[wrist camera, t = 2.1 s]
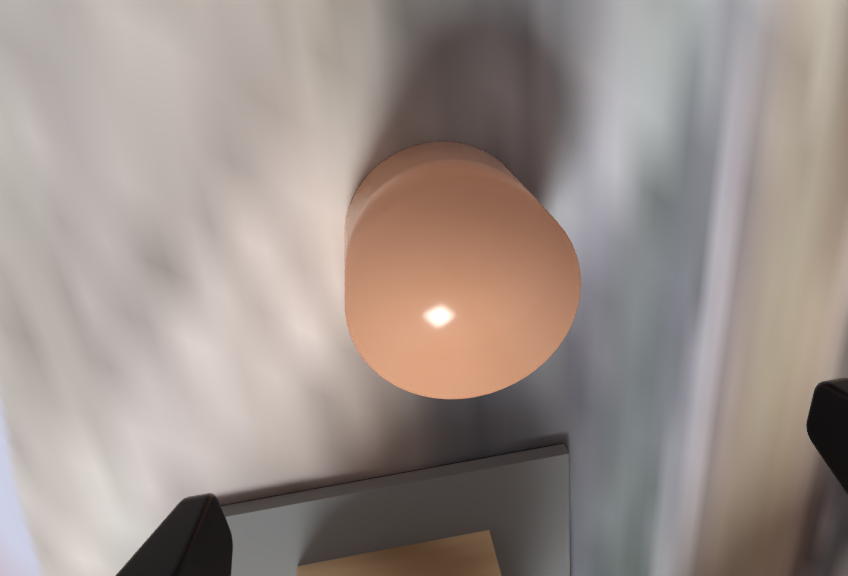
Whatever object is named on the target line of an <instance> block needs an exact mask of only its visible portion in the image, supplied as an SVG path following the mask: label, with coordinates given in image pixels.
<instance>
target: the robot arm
mask: <svg viewBox="0 0 848 576" xmlns="http://www.w3.org/2000/svg"><path fill="white" fill-rule="evenodd" d="M806 425H807V432H808V435H809V437H810V440H811V441H812V443H813V444H814V446H815V447H816V449H817V450H818V452H819V453H820V455H821V456H822V458H823V459H824V461H825V462H826V464H827V465H828V467H829V468H830V470H831V471H832V473H833V474H834V476H835V477H836V479H837V480H838V481H839V483H840V484H841V486H842V487H843V489H844V490H845V492H846V493H847V495H848V378H840V379H834V380H829V381H824V382H821V383H819V384H818V385H817V386H816V388H815V390H814V394H813V398H812V402H811V406H810V410H809V415H808V419H807V424H806ZM232 554H233V540H232V534H231V530H230V528H229V525H228V523H227V520H226V518H225V516H224V513H223V511H222V508H221V506H220V503H219V501H218V499H217V497H216V496H215V495H214V494H211V493H207V494H202V495H196V496H191V497H187V498H184V499H183V500H182V501H181V502H180V503H179V504H178V505H177V506H176V507H175V508H174V509H173V511H172V512H171V513H170V514H169V515H168V516H167V517H166V519H165V520H164V521H163V522H162V523H161V524H160V526H159V527H158V528H157V529H156V530H155V531H154V532H153V534H152V535H151V536H150V537H149V538H148V539H147V540H146V542H145V543H144V544H143V545H142V546H141V547H140V548H139V550H138V551H137V552H136V553H135V554H134V555H133V556H132V558H131V559H130V560H129V561H128V562H127V563H126V564H125V566H124V567H123V568H122V569H121V570H120V571H119V572H118V574H117V575H116V576H231V569H232Z"/></svg>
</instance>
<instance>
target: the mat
mask: <svg viewBox="0 0 848 576" xmlns="http://www.w3.org/2000/svg"><path fill="white" fill-rule="evenodd" d="M221 508H222V511H223V513H224V516H225V518H226V520H227V523H228V525H229V528H230V530H231V534H232V540H233V554H232V569H231V576H296V574H297V566H301V565H306V564H312V563H317V562H322V561H328V560H333V559H338V558H343V557H349V556H354V555H359V554H365V553H370V552H375V551H380V550H386V549H391V548H396V547H402V546H407V545H412V544H417V543H423V542H428V541H433V540H439V539H444V538H449V537H454V536H460V535H465V534H470V533H476V532H481V531H486V530H489V531H490V535H491V538H492V542H493V546H494V550H495V553H496V557H497V561H498V565H499V568H500V572H501V576H570V515H569V453H568V450H567V448H566V446H565V444H560V445H554V446H549V447H543V448H538V449H532V450H527V451H521V452H516V453H510V454H505V455H499V456H494V457H488V458H483V459H477V460H472V461H467V462H461V463H456V464H450V465H445V466H439V467H434V468H428V469H423V470H417V471H412V472H406V473H401V474H395V475H390V476H384V477H379V478H373V479H368V480H362V481H357V482H352V483H346V484H341V485H335V486H330V487H324V488H319V489H313V490H308V491H302V492H297V493H291V494H286V495H280V496H275V497H269V498H264V499H258V500H253V501H247V502H242V503H237V504H231V505H226V506H221Z"/></svg>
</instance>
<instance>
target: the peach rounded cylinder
mask: <svg viewBox="0 0 848 576" xmlns="http://www.w3.org/2000/svg"><path fill="white" fill-rule="evenodd" d="M580 290H581V276H580V267H579V263H578V258H577V255H576V253H575V250H574V247H573V245H572V243H571V241H570V239H569V238H568V236H567V234H566V232H565V231H564V230H563V229H562V227H561V226H560V225H559V224H558V222H557V221H556V220H555V219H554V218H553V217H552V216H551V215H550V213H549V212H548V211H547V210H546V209H545V208H544V207H543V206H542V205H541V204H540V203H539V202H538V201H537V199H536V198H535V197H534V196H533V195H532V194H531V193H530V192H529V191H528V190H527V189H526V188H525V186H524V185H523V184H522V183H521V182H520V181H519V180H518V179H517V178H516V177H515V176H514V175H513V173H512V172H511V171H510V170H509V169H508V168H507V167H506V166H505V165H504V164H502V163H501V162H500V161H499V160H498V159H496V158H495V157H493V156H492V155H490V154H489V153H487V152H485V151H483V150H481V149H479V148H476V147H473V146H470V145H467V144H462V143H456V142H444V141H439V142H428V143H423V144H419V145H414V146H412V147H409V148H406V149H403V150H401V151H399V152H397V153H395V154H393V155H391V156H390V157H388V158H387V159H385V160H384V161H383V162H381V163H380V164H379V165H378V166H376V167H375V168H374V169H373V170H372V171H371V172H370V173H369V174H368V175H367V177H366V178H365V179H364V180H363V181H362V183H361V184H360V186H359V187H358V189H357V191H356V192H355V194H354V196H353V199H352V201H351V203H350V206H349V209H348V213H347V216H346V223H345V314H346V321H347V326H348V329H349V332H350V336H351V338H352V340H353V342H354V344H355V346H356V349H357V350H358V352H359V353H360V355H361V356H362V358H363V359H364V360H365V361H366V362H367V364H368V365H369V366H370V367H371V368H372V369H373V370H374V371H375V372H376V373H378V374H379V375H380V376H381V377H382V378H384V379H385V380H387V381H388V382H390V383H392V384H393V385H395V386H397V387H399V388H401V389H403V390H406V391H408V392H411V393H414V394H417V395H421V396H426V397H431V398H440V399H464V398H472V397H477V396H482V395H486V394H490V393H493V392H496V391H499V390H501V389H504V388H506V387H508V386H510V385H512V384H515V383H516V382H518V381H520V380H521V379H523V378H525V377H526V376H528V375H529V374H531V373H532V372H533V371H535V370H536V369H537V368H539V367H540V366H541V365H542V364H543V363H544V362H545V361H546V360H547V359H548V358H549V357H550V356H551V355H552V354H553V353H554V351H555V350H556V349H557V348H558V347H559V345H560V344H561V342H562V341H563V339H564V338H565V336H566V335H567V333H568V331H569V329H570V327H571V325H572V323H573V320H574V317H575V315H576V312H577V308H578V304H579V299H580Z"/></svg>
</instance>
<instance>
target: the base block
mask: <svg viewBox="0 0 848 576" xmlns="http://www.w3.org/2000/svg"><path fill="white" fill-rule="evenodd" d="M296 576H501V572H500V568H499V565H498V561H497V557H496V553H495V550H494V546H493V542H492V538H491V535H490V531H489V530H486V531H481V532H476V533H470V534H465V535H460V536H454V537H449V538H444V539H439V540H433V541H428V542H423V543H417V544H412V545H407V546H402V547H396V548H391V549H386V550H380V551H375V552H370V553H365V554H359V555H354V556H349V557H343V558H338V559H333V560H328V561H322V562H317V563H312V564H306V565H301V566H297V574H296Z"/></svg>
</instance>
